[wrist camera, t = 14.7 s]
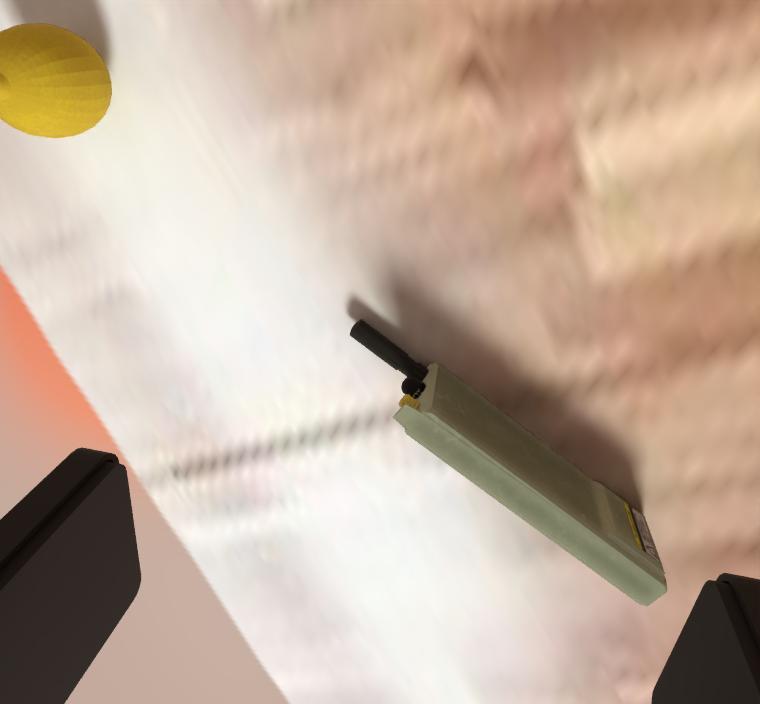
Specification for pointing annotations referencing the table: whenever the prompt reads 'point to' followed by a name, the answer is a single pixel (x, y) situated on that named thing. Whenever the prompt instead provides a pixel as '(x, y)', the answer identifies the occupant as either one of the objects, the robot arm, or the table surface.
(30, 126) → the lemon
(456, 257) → the table surface
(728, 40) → the table surface
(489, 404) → the handheld radio
